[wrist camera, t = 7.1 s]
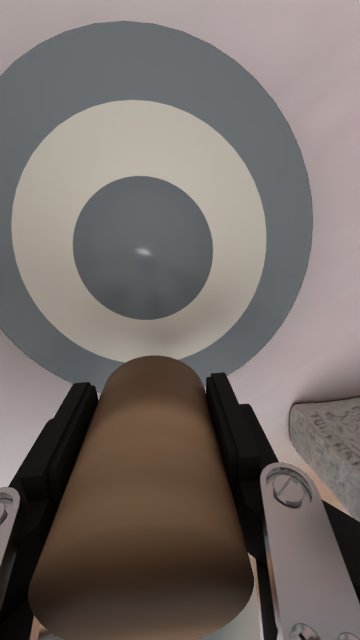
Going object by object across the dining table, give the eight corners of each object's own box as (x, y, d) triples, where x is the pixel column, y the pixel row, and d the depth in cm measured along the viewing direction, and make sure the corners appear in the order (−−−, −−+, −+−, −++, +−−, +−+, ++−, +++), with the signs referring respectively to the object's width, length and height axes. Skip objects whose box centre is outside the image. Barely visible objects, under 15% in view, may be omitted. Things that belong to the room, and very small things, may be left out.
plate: (20, 400, 18) (12, 410, 17) (-95, 37, 11) (-120, 18, 10) (285, 379, 19) (292, 387, 18) (327, 37, 12) (343, 20, 11)
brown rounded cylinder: (94, 359, 10) (-3, 539, 4) (205, 351, 10) (261, 512, 4) (109, 444, 11) (55, 662, 6) (205, 436, 11) (247, 638, 6)
